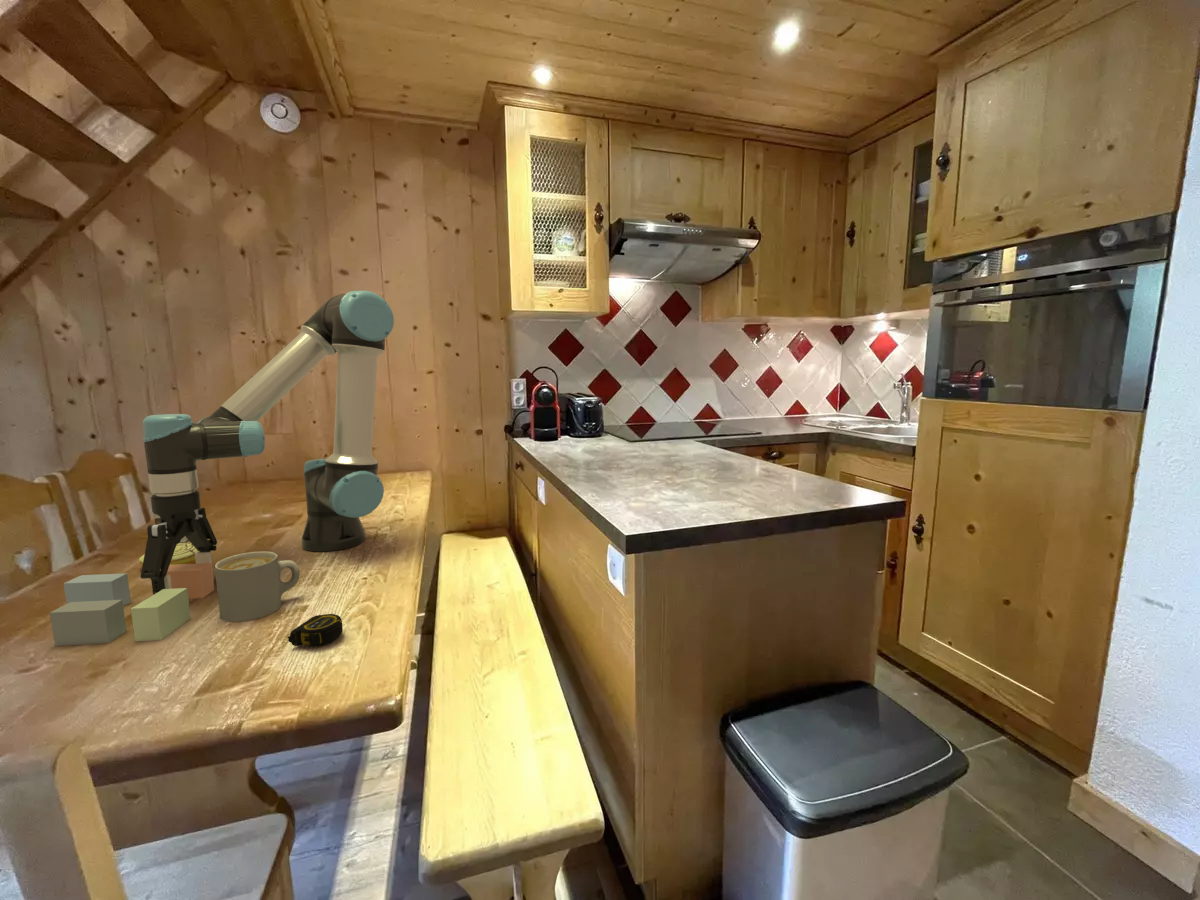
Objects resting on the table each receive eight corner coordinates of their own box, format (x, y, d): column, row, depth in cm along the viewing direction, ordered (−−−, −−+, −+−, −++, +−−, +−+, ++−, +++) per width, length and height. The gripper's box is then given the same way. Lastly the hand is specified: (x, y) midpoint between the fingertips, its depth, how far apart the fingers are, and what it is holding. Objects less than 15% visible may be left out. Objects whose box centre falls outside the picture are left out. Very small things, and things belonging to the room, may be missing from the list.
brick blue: (130, 602, 103) (127, 573, 102) (115, 611, 99) (111, 581, 98) (85, 604, 102) (81, 575, 101) (68, 613, 98) (63, 583, 97)
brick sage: (167, 619, 96) (163, 589, 95) (190, 618, 97) (187, 588, 96) (135, 641, 88) (130, 608, 87) (161, 640, 89) (157, 607, 88)
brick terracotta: (214, 590, 109) (211, 563, 108) (202, 598, 105) (199, 570, 104) (172, 592, 108) (168, 564, 107) (158, 600, 104) (155, 572, 103)
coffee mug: (218, 626, 93) (212, 574, 92) (222, 605, 102) (216, 557, 100) (303, 609, 100) (299, 560, 99) (300, 590, 109) (296, 545, 107)
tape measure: (317, 630, 93) (315, 610, 92) (351, 633, 92) (350, 613, 91) (288, 650, 86) (286, 629, 86) (325, 654, 85) (323, 632, 84)
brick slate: (126, 631, 91) (122, 599, 91) (108, 643, 88) (104, 610, 87) (75, 634, 90) (70, 602, 89) (55, 646, 86) (49, 612, 86)
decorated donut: (142, 563, 124) (140, 546, 123) (203, 553, 131) (201, 537, 130) (139, 578, 115) (136, 560, 114) (205, 566, 122) (203, 549, 122)
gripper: (193, 479, 115) (202, 572, 118) (104, 508, 90) (120, 623, 94) (230, 479, 116) (238, 570, 119) (152, 507, 92) (166, 621, 95)
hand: (186, 594), depth 106 cm, fingers open, 12 cm apart
